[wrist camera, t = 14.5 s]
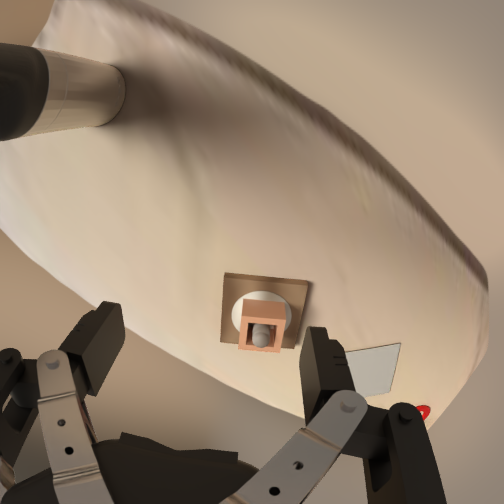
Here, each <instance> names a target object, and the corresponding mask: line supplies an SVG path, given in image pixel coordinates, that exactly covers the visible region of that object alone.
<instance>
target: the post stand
mask: <svg viewBox="0 0 504 504" xmlns="http://www.w3.org/2000/svg"><path fill="white" fill-rule="evenodd" d="M307 288H308V284H307V281H306V280H295V279H284V278H274V277H264V276H254V275H244V274H234V273H225V275H224V283H223V300H222V318H221V338H220V342H223V343H232V344H239V335H240V325H241V315H242V306H243V298H244V299H254V300H265V301H275V302H284V303H285V313H286V323H285V328H284V334H283V339H282V344H281V348H289V349H294V347H295V343H296V339H297V334H298V330H299V325H300V321H301V316H302V312H303V307H304V302H305V298H306V293H307ZM248 326H249V327H253V335H252V341H253V344H254V345H255V346H256V347H258V348H264V347H266V346H267V345H268V344H269V342H270V328H271V329H273V327H274V325H269V324H258V323H248Z"/></svg>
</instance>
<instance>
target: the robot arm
mask: <svg viewBox="0 0 504 504" xmlns="http://www.w3.org/2000/svg"><path fill="white" fill-rule="evenodd" d="M125 93H126V86H125V81H124V78H123V76H122V74H121V73H120V72H119V71H118V70H117V69H116V68H115V67H113V66H110V65H108V64H104V63H100V62H97V61H93V60H90V59H86V58H82V57H78V56H73V55H69V54H65V53H60V52H55V51H50V50H45V49H40V48H34V47H28V46H21V45H14V44H6V43H0V141H6V140H10V139H15V138H20V137H25V136H31V135H36V134H41V133H48V132H54V131H61V130H68V129H75V128H84V127H93V126H100V125H103V124H105V123H107V122H109V121H110V120H111V119H113V118H114V117H115V116H116V114H117V113H118V112H119V110H120V109H121V107H122V105H123V102H124V99H125ZM124 340H125V328H124V322H123V315H122V309H121V305H120V304H119V303H113V302H107V301H103V302H102V303H101V304H100V305H99V307H98V308H97V310H96V311H94V310H91V311H90V312H88V313H87V314H85V315H83V317H82V318H81V319H80V321H79V322H78V324H76V326H75V327H74V328H73V330H72V331H71V332H70V333H69V335H68V336H67V337H66V339H65V340H64V342H63V343H62V344H61V346H60V347H59V348H58V350H50V351H47V352H45V353H43V354H42V355H41V356H40V357H39V358H38V359H37V360H36V359H23V358H22V356H21V354H20V352H19V351H18V350H17V349H14V348H7V349H3V350H2V351H0V504H303V502H304V501H305V500H306V499H307V498H308V496H309V495H310V494H311V493H312V491H313V490H314V489H315V487H316V486H317V485H318V483H319V482H320V481H321V480H322V478H323V477H324V476H325V475H326V473H327V472H328V471H329V469H330V468H331V467H332V465H333V464H334V462H335V461H336V460H337V458H338V457H339V456H340V454H341V453H342V454H346V455H351V456H355V457H360V458H362V459H363V466H364V474H365V482H366V489H367V499H368V504H447V503H446V498H445V494H444V490H443V486H442V482H441V478H440V474H439V471H438V467H437V463H436V460H435V456H434V453H433V450H432V446H431V443H430V440H429V437H428V433H427V430H426V427H425V424H424V421H423V418H422V415H421V413H420V411H419V410H418V409H417V408H416V407H415V406H413V405H411V404H409V403H404V402H400V403H396V404H394V405H393V406H391V408H390V409H389V410H386V409H382V408H377V407H373V406H370V405H368V404H367V402H366V400H365V399H364V397H363V396H362V395H360V394H359V393H357V392H356V389H355V386H354V382H353V379H352V375H351V372H350V368H349V366H348V361H347V359H346V354H345V351H344V348H343V347H342V345H341V344H340V343H339V342H338V341H337V340H331V339H329V337H328V333H327V330H326V328H325V327H312V326H308V327H307V330H306V334H305V338H304V342H303V346H302V350H301V354H300V361H299V368H300V377H301V386H302V395H303V404H304V414H305V423H306V428H304V429H303V428H301V429H299V430H298V431H297V432H296V433H295V435H294V436H293V437H292V438H291V439H290V440H289V441H288V442H287V443H286V444H285V445H284V446H283V447H282V449H280V450H279V451H278V453H277V454H276V455H275V456H274V457H273V458H272V459H271V460H270V461H269V462H268V463H267V464H266V465H265V466H264V467H263V468H261V470H259V469H257V468H256V467H254V466H252V465H250V464H248V463H246V462H243V461H240V460H238V452H229V451H221V450H211V449H202V450H181V451H179V450H174V449H171V448H169V447H166V446H164V445H162V444H159V443H158V442H155V441H153V440H151V439H149V438H145V437H140V436H136V435H132V434H128V433H124V432H122V433H121V436H120V439H111V440H104V441H101V442H99V441H98V438H97V436H96V434H95V431H94V428H93V425H92V422H91V419H90V416H89V413H88V410H87V407H86V404H85V401H84V398H85V396H86V394H88V395H92V396H95V397H96V396H97V394H98V392H99V390H100V388H101V386H102V384H103V382H104V380H105V378H106V376H107V374H108V372H109V370H110V368H111V367H112V365H113V363H114V361H115V359H116V357H117V355H118V353H119V352H120V350H121V348H122V346H123V344H124ZM9 394H10V395H11V396H12V398H11V399H10V401H9V402H8V405H7V406H6V408H5V410H4V411H3V413H2V407H3V404H4V403H5V401H6V399H7V398H8V396H9ZM38 413H39V415H40V421H41V426H42V431H43V435H44V441H45V445H46V449H47V453H48V458H49V461H50V465H51V467H50V468H48V469H46V470H44V471H42V472H40V473H38V474H36V475H34V476H32V477H30V478H28V479H26V480H24V481H22V482H20V483H17V484H16V483H15V474H14V470H13V466H14V464H15V462H16V460H17V457H18V455H19V453H20V450H21V448H22V446H23V444H24V442H25V440H26V438H27V435H28V433H29V431H30V429H31V427H32V425H33V423H34V421H35V419H36V417H37V415H38Z"/></svg>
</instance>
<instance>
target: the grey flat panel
mask: <svg viewBox="0 0 504 504" xmlns="http://www.w3.org/2000/svg"><path fill="white" fill-rule="evenodd" d="M399 348H400V343H399V344H394V345H388V346H383V347H377V348H371V349H365V350H359V351H352V352H345V354H346V359H347V361H348V366H349V368H350V372H351V375H352V379H353V382H354V386H355V389H356V392H357V393H359V394H360V395H362V396H363V397H369V396H375V395H380V394H385V393H389V391H390V387H391V383H392V379H393V375H394V371H395V367H396V362H397V358H398V353H399Z"/></svg>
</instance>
